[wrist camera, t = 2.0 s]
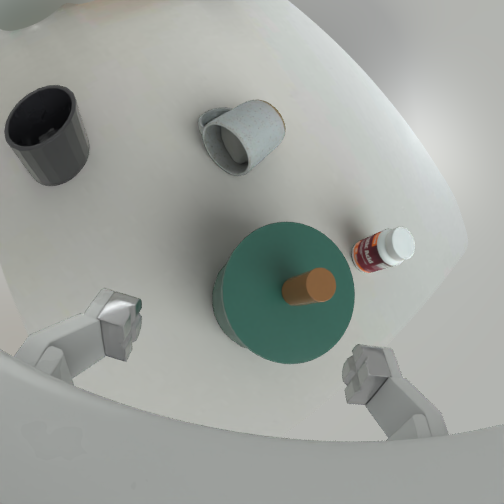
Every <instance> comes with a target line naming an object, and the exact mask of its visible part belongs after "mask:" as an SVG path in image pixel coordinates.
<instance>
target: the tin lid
mask: <svg viewBox="0 0 504 504" xmlns="http://www.w3.org/2000/svg"><path fill="white" fill-rule="evenodd" d="M221 296H222V304H223V310H224V313H225V316H226V319H227V321H228V323H229V326H230V328H231V329H232V331H233V332H234V334H235V336H236V337H237V338H238V339H239V340H240V342H241V343H242V344H243V345H244V346H246V347H247V348H248V349H249V350H250V351H252V352H253V353H255V354H256V355H258V356H260V357H262V358H264V359H267V360H270V361H273V362H277V363H283V364H298V363H304V362H308V361H311V360H313V359H316V358H318V357H320V356H321V355H323V354H325V353H326V352H328V351H329V350H330V349H331V348H332V347H333V346H334V345H335V344H336V343H337V342H338V341H339V340H340V338H341V337H342V336H343V334H344V332H345V331H346V329H347V327H348V325H349V322H350V320H351V316H352V313H353V308H354V297H355V292H354V283H353V278H352V274H351V271H350V268H349V265H348V263H347V261H346V259H345V257H344V256H343V254H342V252H341V251H340V250H339V248H338V247H337V246H336V245H335V244H334V243H333V242H332V241H331V240H330V239H329V238H328V237H327V236H326V235H324V234H323V233H321V232H320V231H318V230H316V229H314V228H312V227H310V226H307V225H304V224H300V223H295V222H277V223H273V224H268V225H266V226H263V227H261V228H259V229H257V230H255V231H253V232H252V233H251V234H249V235H248V236H247V237H245V238H244V240H243V241H242V242H241V243H240V244H239V245H238V246H237V247H236V248H235V250H234V251H233V252H232V254H231V256H230V258H229V260H228V262H227V264H226V267H225V270H224V274H223V278H222V287H221Z"/></svg>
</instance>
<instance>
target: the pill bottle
mask: <svg viewBox="0 0 504 504" xmlns="http://www.w3.org/2000/svg"><path fill="white" fill-rule="evenodd" d="M414 251H415V242H414V238H413V236H412V234H411V233H410V231H409V230H408V229H406V228H404V227H397V228H394V229H385V230H383V231H381V232H378V233H376V234H374V235H372V236H369V237H367V238H365V239H362V240H360V241H358V242H357V243H356V244H355V245H354V247H353V251H352V258H353V262H354V264H355V266H356V267H357V268H358V269H359V270H360V271H362V272H364V273H371V272H375V271H378V270H382V269H385V268H389V267H393V266H396V265H399V264H400V263H401V262H402V261H403V260H406V259H409V258H410V257H412V255H413V254H414Z"/></svg>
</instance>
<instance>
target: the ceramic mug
mask: <svg viewBox="0 0 504 504" xmlns="http://www.w3.org/2000/svg"><path fill="white" fill-rule="evenodd" d="M217 117H218V118H217ZM214 118H216V119H214ZM212 119H214V120H212ZM210 120H212V121H211V122H209V121H210ZM207 122H209V123H208V124H207V125H206V126H205V127H204V126H203V125H204V124H205V123H207ZM198 125H199V131H200V133H201V134H202V135H203V142H204V145H205V147H206V150H207V151H208V154H209V155H210V157H211V158H212V159H213V160H214V161H215V163H216V164H217V165H218V166H219V167H221V168H222V169H223V170H224V171H226V172H228V173H229V174H232V175H236V176H241V175H245V174H247V173H248V172H249V171H250V170H251V169H252V168H253V167H255V166H256V165H257V164H258V163H259V162H260V161H261V160H263V159H264V158H265V157H266V156H267V155H268V154H269V153H271V152H272V151H273V150H274V149H275V148H276V147H277V146H278V145H279V144H280V143H281V141H282V140H283V138H284V136H285V124H284V121H283V118H282V116H281V114H280V113H279V112H278V110H277V109H276V108H275V107H273V106H272V105H271V104H269V103H267V102H265V101H262V100H251V101H248V102H245V103H243V104H240V105H239V106H237V107H236V108H234V109H232V108H226V107H222V108H215V109H212V110H209V111H207V112H205V113H204V114H202V115H201V116H200V117H199V120H198Z"/></svg>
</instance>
